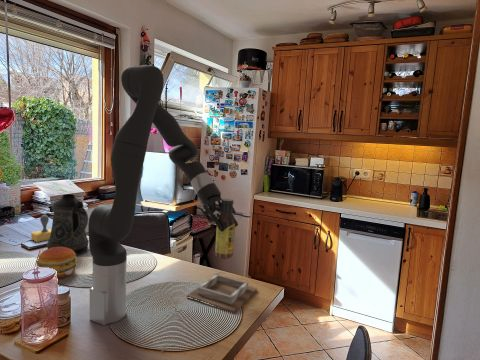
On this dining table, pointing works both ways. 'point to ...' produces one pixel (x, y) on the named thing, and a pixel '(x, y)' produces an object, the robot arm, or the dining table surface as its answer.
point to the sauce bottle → (226, 231)
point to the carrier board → (224, 292)
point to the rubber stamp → (42, 231)
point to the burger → (58, 260)
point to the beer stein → (69, 225)
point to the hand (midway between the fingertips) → (230, 228)
